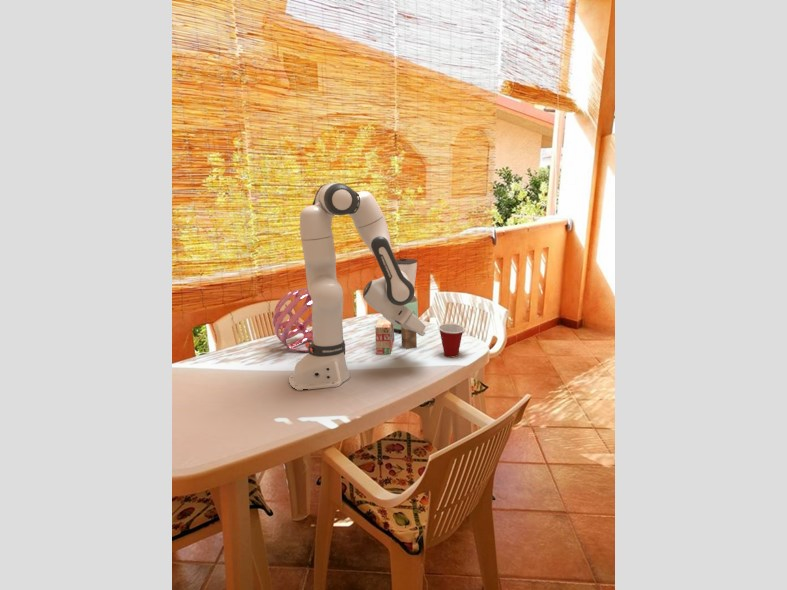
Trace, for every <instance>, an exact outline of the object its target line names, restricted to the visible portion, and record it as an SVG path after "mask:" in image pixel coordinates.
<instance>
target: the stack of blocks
mask: <svg viewBox="0 0 787 590" xmlns="http://www.w3.org/2000/svg"><path fill="white" fill-rule="evenodd" d="M374 327H375V346H376V347H375V354H376V355H391V354H392V351H393V346H394V345H393V344H394V342H395V330H394V325H393V324H392V323H391V322H389V321H388V320H387V319H386V318H378V319H377V322H376V325H375V326H374Z"/></svg>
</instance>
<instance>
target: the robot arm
mask: <svg viewBox="0 0 787 590" xmlns="http://www.w3.org/2000/svg"><path fill="white" fill-rule="evenodd" d="M347 215H348V216H349V217H350V218H351V220H352V222H353V224H354V227H355V229H356V230H357V233H358V235H359V237H360V238H361V240H362V241H363V243H364V244H365V245H366V247H367V248H368V250H369V251H370V253H371V254H372V255H373V257H375V259H376V261H377V263H378V266H379V267H380V270H381V272H382V275H383V276H382V277H379V278H377V279H372V280H370V281H369V282H368V283H367V284H366V286H365V287H364V289H363V293H362V296H363V300H364V301H365V303H366V304H367V305H369V306H370V307H371V309H373V310H375V311H376V312H378V313H380V314H381V315H382V317H383V319H387V320H388V321H389V322H391V323H392V324H393V325H396V324H398V325H400V326H402V327H403V328H406V329H409V330H411V331H414V332H416V334H418V335H419V336H421V337H424V336H425V335H426V332H425V331H424V330H425V329H426V325H425V323H423V321H422V320H421V319H420V318H419V317H418V318H417V317H416V316H415V315H414V314H413V313H412V312H413V311H412V310H411V309H409V308H408V307H407V306H406V305H405V304H408V303H409V302H410V301H411V300H412V299H413V297H414V296H415V292H416V291H415V286H414V287H413V285H412V284H411V282H410V280H409V278H408V276H407V275H406V273H405V272H403V271H401V270H400V268H399V266H398V264H397V261H396V259H397V258H396V257H395V253H394V252H393V248H392V242H391V236H390V231H389V227H388V223H387V220H386V218H385V216H384V213H383V211H382V209H381V207H380V205H379V203H378V201H377V199H376V198H375V197H374V196H373V194H372V193H371V192H370V191H367V190H360V191H355V190H353V188H351V187H350V186H349V185H346V184H345V183H339V182H328V183H324V184H322V185H321V186H320V187H319V188H318V190H317V191H316V194H315V196H314V199H313V202H312V204H311V205H307V206H306V207H304V208H302V209H301V212H300V214H299V233H300V240H301V246H302V254H303V259H304V267H305V277H306V286H307V288H308V292H309V294H310V296H311V300H312V307H311V313H312V322H311V330H312V331H313V342H312V343H310V342H308V341H306V342H305V343H304V344H305V345H304V347H305V348H306V350H308V352H307V354H306V355H304V356H303V357H302V358H301V359H299V360H298V361H297V363H296V364H295V367H294V373H293V374H291V375H290V376H289V377H288V383H290V384H289V386H290V385H291V386H292V387H293V388H295V389H298V390H297V391H304V390H303V389H308V390H317V389H327V388H335V387H340V386H341V385H342V384H343V383H344V382H346V381H348V379H350V377H351V374H350V372H349V369H348V365H347V360H346V342H345V340H344V331H343V329H344V328H343V312H344V290H343V287H342V285H341V284H340V283H339V282H338V279H337V278H338V277H337V267H336V266H337V264H336V263H337V262H336V258H337V257H336V249H335V243H334V242H335V241H334V236H333V230H332V221H333V218H334V216H347ZM291 386H290V387H291ZM292 387H291V388H292ZM293 388H292V389H293ZM295 389H294V390H295Z"/></svg>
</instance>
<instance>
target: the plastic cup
mask: <svg viewBox="0 0 787 590" xmlns="http://www.w3.org/2000/svg"><path fill="white" fill-rule="evenodd" d="M437 328H438V330H439V335H440V339H441V345H442V350H443V353H444V354H445V355H446V357H448V356H455V357H457V356H458V355H459V352H460V347H461V343H462V342H461V341H462V336H463V333H464V332H465V329H466V328H465V327H464V326H463V325H461V324H457V323H443V324H440V325H438V327H437ZM444 354H443V355H444ZM445 355H444V356H445ZM456 355H457V356H456Z"/></svg>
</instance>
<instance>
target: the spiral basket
mask: <svg viewBox="0 0 787 590" xmlns="http://www.w3.org/2000/svg"><path fill="white" fill-rule="evenodd" d="M303 291H305V292H303ZM301 292H303V293H301ZM293 296H294V299H293V300H292V301H290V302H289V303H288V305H287V304H286V303H287V302H288V301H289V300H290V299H291V298H292V297H293ZM304 298H305V301H304V302H303V304H302V306H300V308H299V309H298V310H296V311H295V312H294V313H293V312H292V311H293V309H295V307H296V306H297V305H298V303H300V302H301V301H302V300H303V299H304ZM283 306H285V308H284V309H283V310H281V309H282V307H283ZM311 308H312V300H311V296H310V294H309V292H308V287H307V288H305V287H303V288H299V289H295V290H291V291H289V292H287V293H286V294H285V295H283V296H282V297H281V298H280V299H279V300H278V302H277V303H276V306H275V308H274V313H273V314H272V315H273V317H272V326H273V328H274V333H275V336H276V337H277V338H278V339H279V341H280V343H282V344H283V345H284V346H285V347H286V348H288V349H290V350H291V351H294V352H298V351H305V352H304V353H309V352H308V349H299V348H296V347H293V346H295V345H297V344H299V343H302V342H304V343H307V342H308V341H311V342H312V343H313V331H312V329H311V330H309V329H307V327H308V326H309V325H310V324H312V312H311V313H310V314H309V315H308V316H307V318H306V319H305V320H303V322H300V321H299V319H300V318H301V317H302V316H303V315H304V313H305V312H307V311H308V310H309V309H311ZM287 315H288V316H289V318H288V319H287V320H285V321H283V320H284V319H285V318H286V316H287ZM294 325H295V329H294V330H291V329H292V328H293V326H294ZM280 330H282V333H280ZM298 334H303V336H302V337H300V338H299V339H298V340H296V341H294V342H291V343H287V340H288V339H292V338H294V337H295V336H297V335H298ZM292 347H293V348H292Z"/></svg>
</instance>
